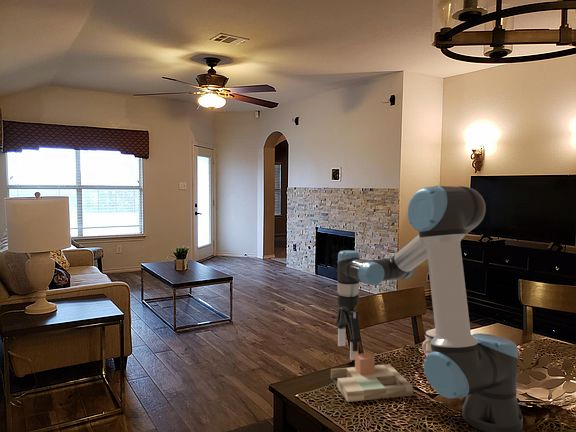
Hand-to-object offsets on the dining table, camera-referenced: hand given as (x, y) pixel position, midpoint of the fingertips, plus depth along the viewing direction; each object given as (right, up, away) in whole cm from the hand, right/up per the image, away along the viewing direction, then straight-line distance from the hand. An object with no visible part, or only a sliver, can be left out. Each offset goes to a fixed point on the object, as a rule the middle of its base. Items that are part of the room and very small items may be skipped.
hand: (347, 352), depth 158 cm
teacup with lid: (+34, -4, +7) cm, 35 cm away
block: (+4, -2, -12) cm, 13 cm away
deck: (+5, -6, -17) cm, 18 cm away
